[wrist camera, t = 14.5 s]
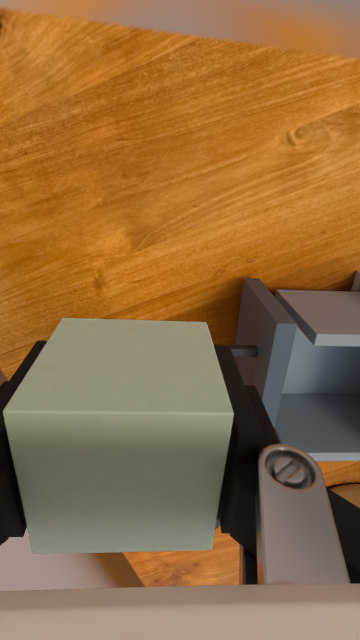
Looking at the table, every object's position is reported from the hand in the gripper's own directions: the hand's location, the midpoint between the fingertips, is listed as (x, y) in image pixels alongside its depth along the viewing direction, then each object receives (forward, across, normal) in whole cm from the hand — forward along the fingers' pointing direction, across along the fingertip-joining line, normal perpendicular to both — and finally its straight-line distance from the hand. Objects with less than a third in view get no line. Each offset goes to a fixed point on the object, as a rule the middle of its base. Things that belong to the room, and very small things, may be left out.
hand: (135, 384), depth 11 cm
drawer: (+15, -12, +7) cm, 20 cm away
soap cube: (0, 0, 0) cm, 0 cm away
